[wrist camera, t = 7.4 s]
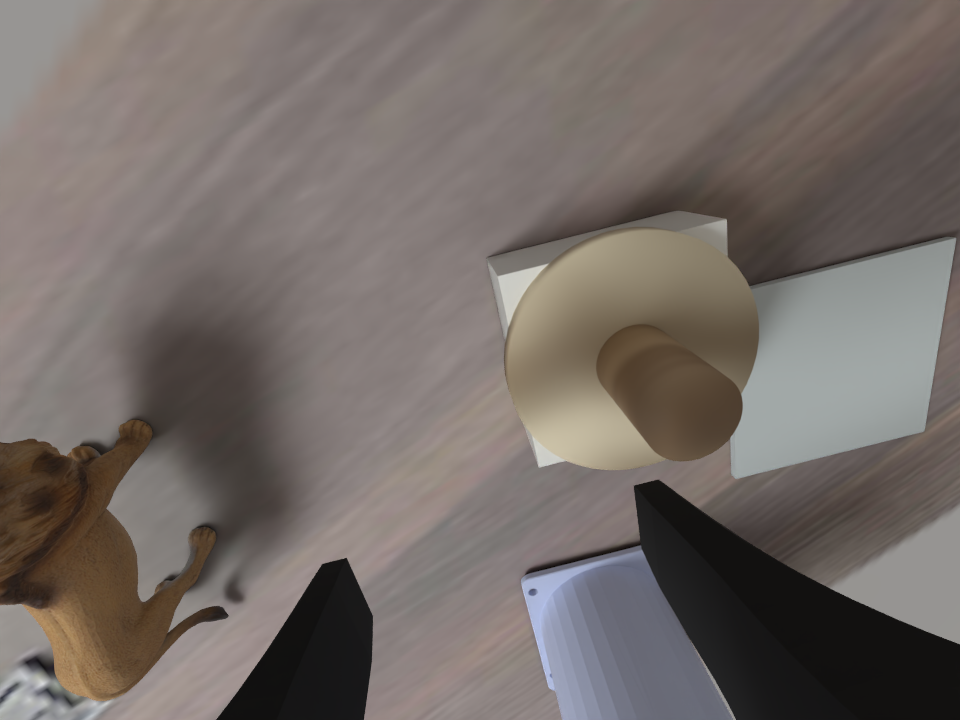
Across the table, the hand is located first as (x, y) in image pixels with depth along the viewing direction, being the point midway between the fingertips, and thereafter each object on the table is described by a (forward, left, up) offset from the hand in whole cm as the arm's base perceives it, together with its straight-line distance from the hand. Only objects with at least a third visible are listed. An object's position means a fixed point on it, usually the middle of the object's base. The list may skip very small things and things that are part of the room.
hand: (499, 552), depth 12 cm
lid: (+1, -6, -7) cm, 9 cm away
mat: (-4, -17, -10) cm, 20 cm away
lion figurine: (-2, +16, -11) cm, 19 cm away
